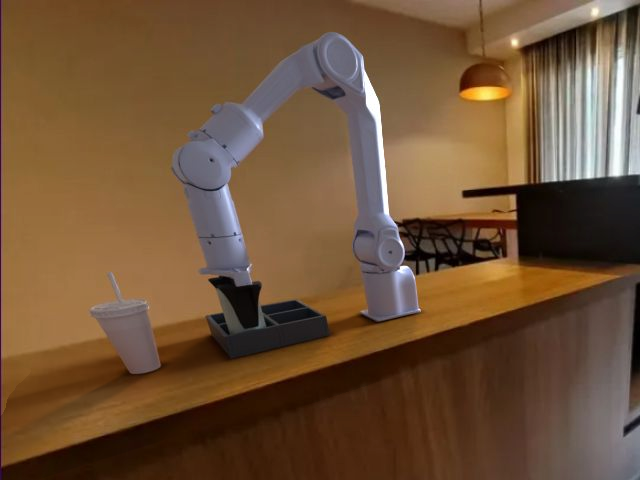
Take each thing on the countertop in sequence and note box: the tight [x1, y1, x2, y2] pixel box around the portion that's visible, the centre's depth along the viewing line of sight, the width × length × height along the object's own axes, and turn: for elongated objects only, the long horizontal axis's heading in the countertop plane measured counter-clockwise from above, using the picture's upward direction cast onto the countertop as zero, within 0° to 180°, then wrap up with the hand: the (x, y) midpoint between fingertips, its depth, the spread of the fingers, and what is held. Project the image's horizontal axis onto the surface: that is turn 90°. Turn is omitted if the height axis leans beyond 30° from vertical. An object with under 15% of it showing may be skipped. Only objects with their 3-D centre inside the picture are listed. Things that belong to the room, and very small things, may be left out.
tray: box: [205, 299, 331, 360], centre depth 76 cm, size 15×15×4 cm
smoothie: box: [88, 271, 162, 375], centre depth 62 cm, size 6×6×14 cm
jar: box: [215, 288, 266, 335], centre depth 70 cm, size 5×5×8 cm
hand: (246, 323), depth 71 cm, fingers closed on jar, 5 cm apart
